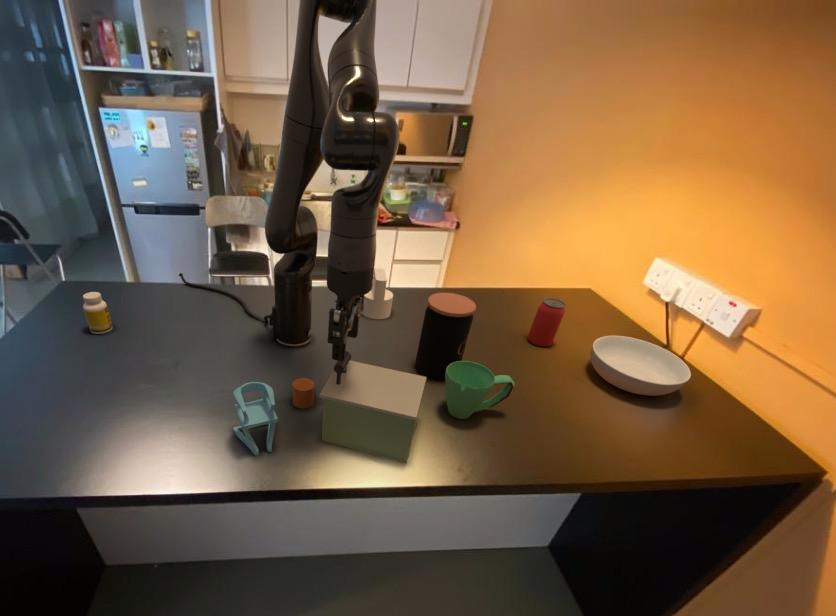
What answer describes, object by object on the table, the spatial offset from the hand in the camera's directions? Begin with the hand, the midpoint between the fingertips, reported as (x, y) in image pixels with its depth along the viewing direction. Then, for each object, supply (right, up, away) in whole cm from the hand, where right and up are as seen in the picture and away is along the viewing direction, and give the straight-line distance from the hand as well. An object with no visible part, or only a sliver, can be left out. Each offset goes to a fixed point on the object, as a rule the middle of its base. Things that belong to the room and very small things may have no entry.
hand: (345, 347), depth 77 cm
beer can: (+55, +5, +42) cm, 70 cm away
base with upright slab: (+10, +15, +52) cm, 55 cm away
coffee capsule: (-9, -10, +15) cm, 20 cm away
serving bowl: (+71, -6, +29) cm, 77 cm away
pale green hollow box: (+5, -16, +9) cm, 19 cm away
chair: (-17, -17, +5) cm, 25 cm away
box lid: (+6, -8, +3) cm, 10 cm away
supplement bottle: (-63, +8, +35) cm, 73 cm away
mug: (+28, -13, +16) cm, 34 cm away
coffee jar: (+23, -3, +28) cm, 37 cm away
